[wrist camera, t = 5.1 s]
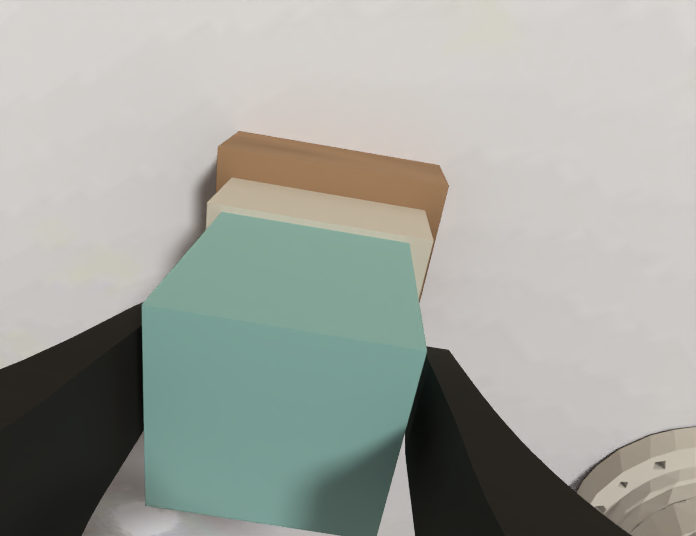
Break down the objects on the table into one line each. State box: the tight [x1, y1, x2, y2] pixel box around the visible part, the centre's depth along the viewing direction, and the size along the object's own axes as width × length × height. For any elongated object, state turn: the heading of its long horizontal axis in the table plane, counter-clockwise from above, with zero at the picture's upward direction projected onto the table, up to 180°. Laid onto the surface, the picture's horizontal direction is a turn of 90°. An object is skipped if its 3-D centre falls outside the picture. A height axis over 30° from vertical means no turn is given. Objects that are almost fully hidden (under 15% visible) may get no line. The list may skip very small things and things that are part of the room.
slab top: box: [206, 178, 433, 299], centre depth 16 cm, size 6×6×2 cm
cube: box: [142, 212, 427, 536], centre depth 12 cm, size 5×5×5 cm
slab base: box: [216, 131, 449, 303], centre depth 18 cm, size 7×7×3 cm
